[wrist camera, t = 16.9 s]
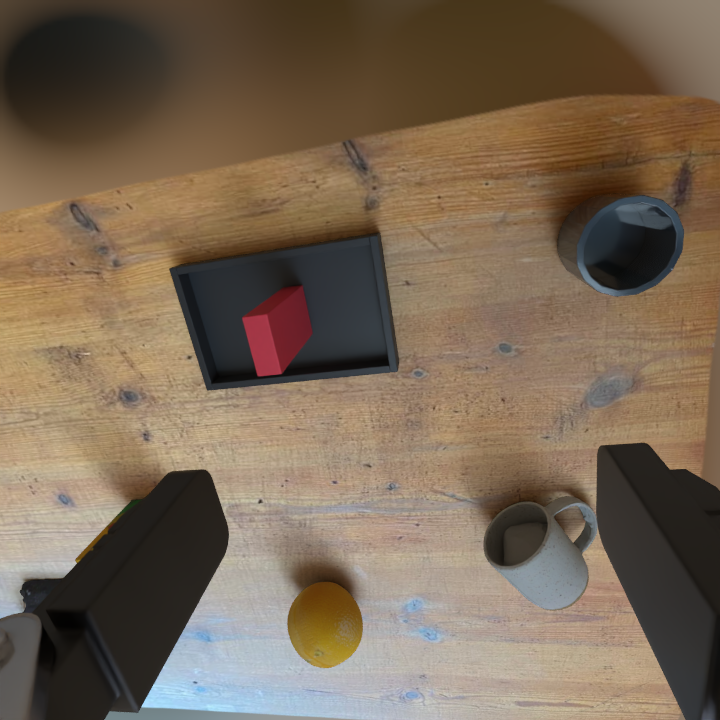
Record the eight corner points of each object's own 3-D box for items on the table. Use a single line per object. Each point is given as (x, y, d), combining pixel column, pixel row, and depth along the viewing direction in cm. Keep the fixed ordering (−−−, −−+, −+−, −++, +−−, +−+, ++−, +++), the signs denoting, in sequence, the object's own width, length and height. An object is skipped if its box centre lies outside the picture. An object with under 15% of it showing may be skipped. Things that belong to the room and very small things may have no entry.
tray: (380, 232, 40) (377, 235, 37) (399, 362, 44) (397, 371, 42) (181, 264, 43) (168, 268, 41) (216, 381, 48) (207, 390, 45)
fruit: (287, 595, 58) (266, 655, 50) (317, 557, 55) (300, 616, 47) (345, 628, 58) (333, 693, 51) (378, 593, 55) (371, 656, 48)
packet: (302, 284, 42) (266, 313, 33) (313, 333, 43) (281, 374, 34) (282, 287, 42) (241, 317, 33) (293, 336, 44) (257, 377, 35)
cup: (578, 184, 36) (602, 184, 31) (664, 206, 36) (703, 210, 31) (544, 269, 39) (561, 282, 34) (624, 290, 38) (654, 306, 33)
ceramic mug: (523, 570, 51) (539, 632, 44) (477, 522, 49) (487, 579, 42) (608, 525, 47) (641, 585, 40) (563, 473, 46) (588, 525, 39)
